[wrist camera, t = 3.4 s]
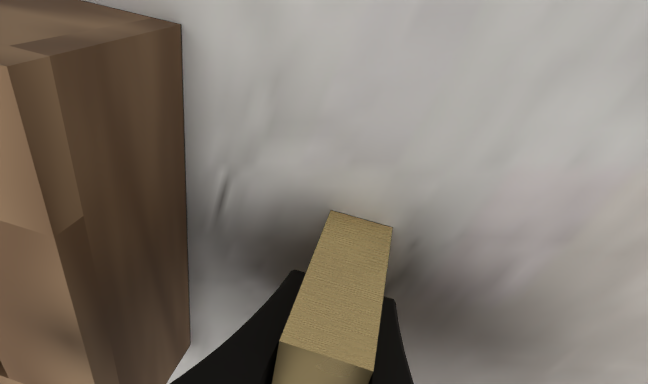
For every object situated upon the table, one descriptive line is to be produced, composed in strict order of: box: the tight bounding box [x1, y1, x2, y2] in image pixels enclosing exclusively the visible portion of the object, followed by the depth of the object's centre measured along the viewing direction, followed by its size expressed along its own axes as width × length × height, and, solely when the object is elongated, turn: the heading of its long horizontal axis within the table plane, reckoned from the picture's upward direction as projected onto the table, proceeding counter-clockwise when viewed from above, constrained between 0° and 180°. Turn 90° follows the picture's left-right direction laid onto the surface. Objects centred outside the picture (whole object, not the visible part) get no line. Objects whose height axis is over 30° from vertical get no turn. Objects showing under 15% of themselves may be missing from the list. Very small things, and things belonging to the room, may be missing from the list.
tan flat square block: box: [272, 211, 392, 384], centre depth 11 cm, size 2×5×5 cm, turn 170°
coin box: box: [0, 0, 190, 384], centre depth 12 cm, size 10×14×5 cm
